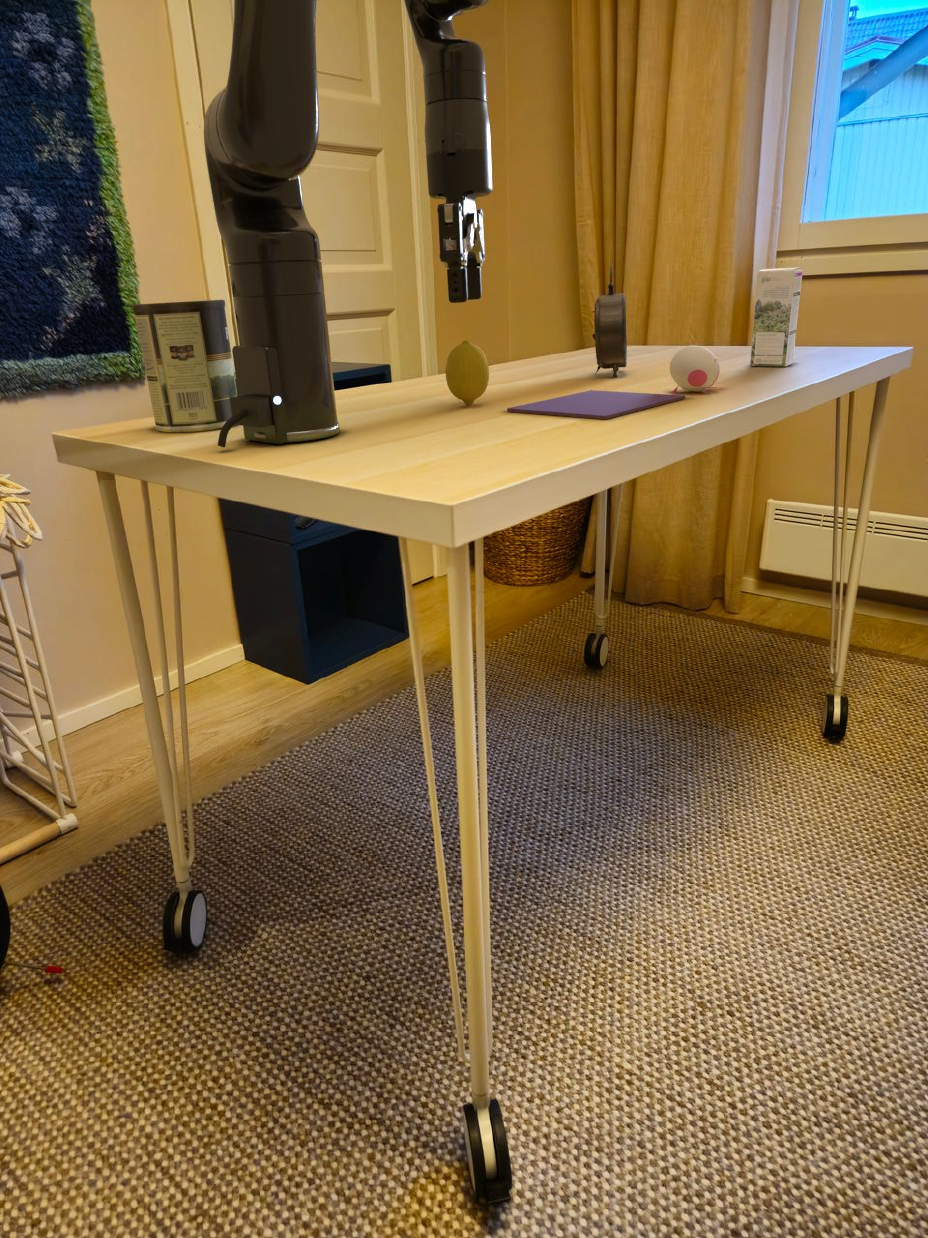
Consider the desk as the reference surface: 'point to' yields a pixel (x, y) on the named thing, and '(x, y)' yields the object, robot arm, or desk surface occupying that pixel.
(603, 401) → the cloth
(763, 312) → the syrup box
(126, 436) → the desk surface
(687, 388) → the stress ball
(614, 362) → the alarm clock
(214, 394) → the coffee can
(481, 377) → the lemon
